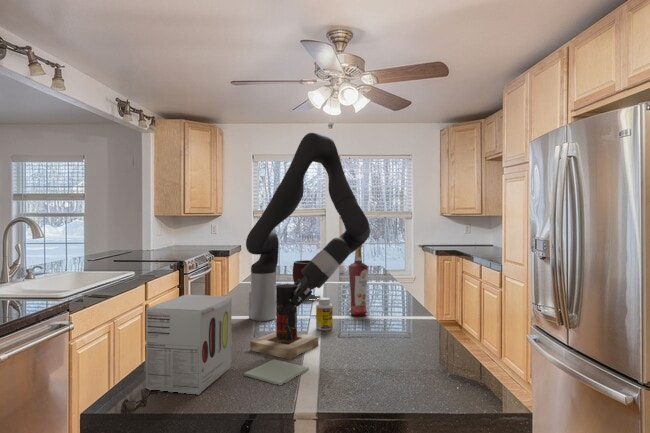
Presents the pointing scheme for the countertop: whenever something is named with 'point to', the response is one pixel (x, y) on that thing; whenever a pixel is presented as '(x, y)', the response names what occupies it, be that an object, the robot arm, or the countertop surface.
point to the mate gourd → (298, 275)
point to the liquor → (358, 285)
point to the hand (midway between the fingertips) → (280, 310)
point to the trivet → (276, 371)
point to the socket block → (284, 345)
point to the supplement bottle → (324, 314)
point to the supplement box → (188, 343)
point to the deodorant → (288, 323)
